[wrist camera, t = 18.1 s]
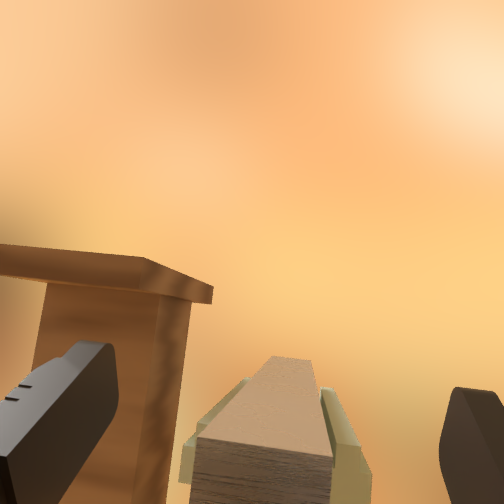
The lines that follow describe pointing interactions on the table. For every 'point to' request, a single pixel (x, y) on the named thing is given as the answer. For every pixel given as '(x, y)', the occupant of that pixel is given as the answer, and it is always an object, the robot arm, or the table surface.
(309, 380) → the tan wooden bar
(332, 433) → the cradle stand
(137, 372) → the walnut stand
